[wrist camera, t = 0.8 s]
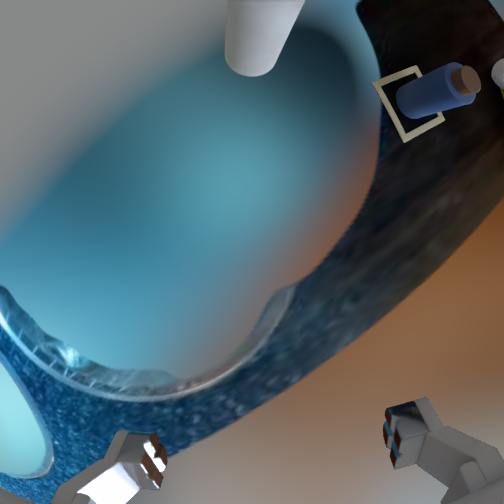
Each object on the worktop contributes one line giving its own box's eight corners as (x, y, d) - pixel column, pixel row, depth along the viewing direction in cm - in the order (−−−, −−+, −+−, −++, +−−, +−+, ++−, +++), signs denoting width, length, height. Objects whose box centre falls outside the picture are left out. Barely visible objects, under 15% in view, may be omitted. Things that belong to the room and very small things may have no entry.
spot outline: (371, 83, 31) (372, 82, 31) (415, 65, 31) (416, 65, 31) (403, 142, 33) (404, 142, 33) (444, 120, 33) (445, 120, 33)
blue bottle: (389, 91, 32) (447, 62, 20) (413, 81, 32) (471, 54, 20) (406, 123, 33) (469, 106, 21) (429, 112, 33) (491, 94, 21)
